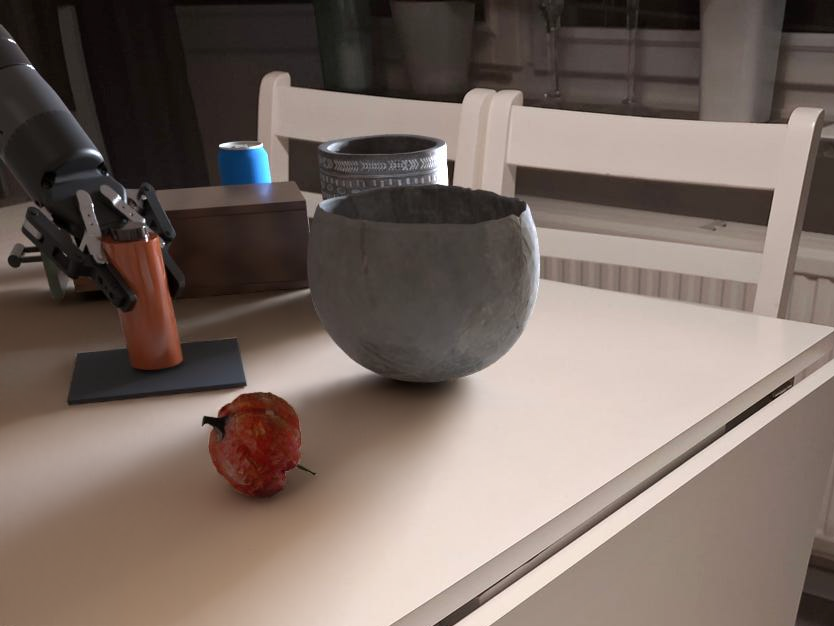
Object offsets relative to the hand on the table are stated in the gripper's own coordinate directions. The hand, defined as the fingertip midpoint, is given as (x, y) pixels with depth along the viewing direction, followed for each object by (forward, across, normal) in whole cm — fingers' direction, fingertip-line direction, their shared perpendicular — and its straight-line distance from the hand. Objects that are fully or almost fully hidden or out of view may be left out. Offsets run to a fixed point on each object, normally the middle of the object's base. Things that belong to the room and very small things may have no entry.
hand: (155, 298), depth 92 cm
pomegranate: (+24, -13, -14) cm, 30 cm away
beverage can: (-17, +42, +28) cm, 53 cm away
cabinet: (-9, +28, +19) cm, 35 cm away
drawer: (-17, +16, +25) cm, 34 cm away
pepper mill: (+3, 0, +6) cm, 6 cm away
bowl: (+20, +13, -10) cm, 26 cm away
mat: (+4, 0, +6) cm, 7 cm away
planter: (+4, +35, +6) cm, 35 cm away
